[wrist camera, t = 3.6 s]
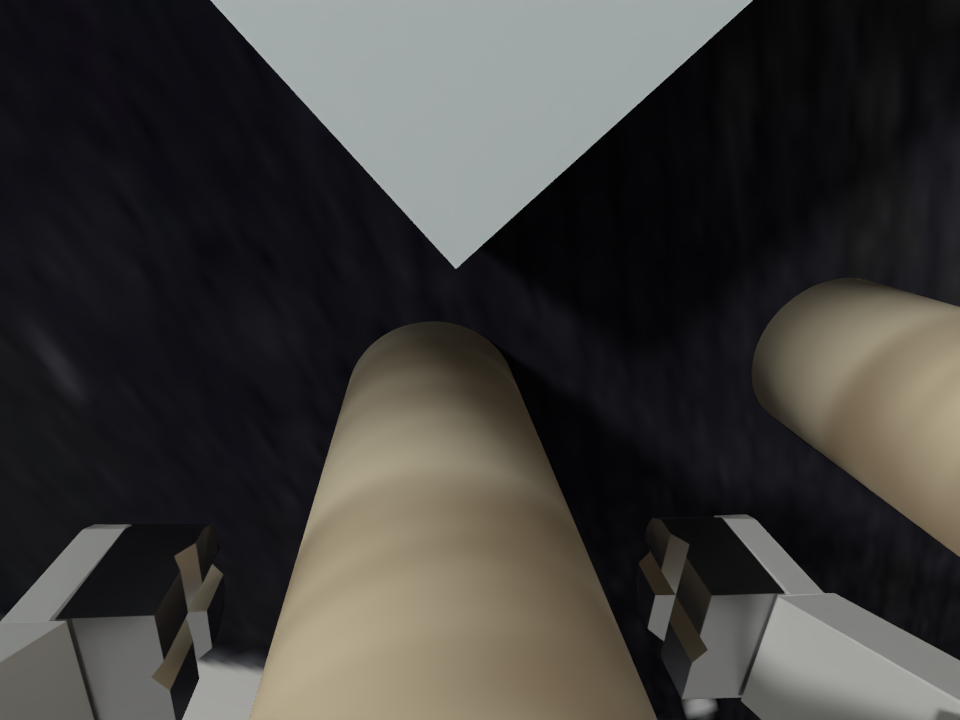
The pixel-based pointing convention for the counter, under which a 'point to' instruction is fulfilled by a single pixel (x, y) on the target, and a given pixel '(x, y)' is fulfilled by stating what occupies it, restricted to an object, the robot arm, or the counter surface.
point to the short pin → (872, 392)
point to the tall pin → (443, 559)
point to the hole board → (473, 89)
